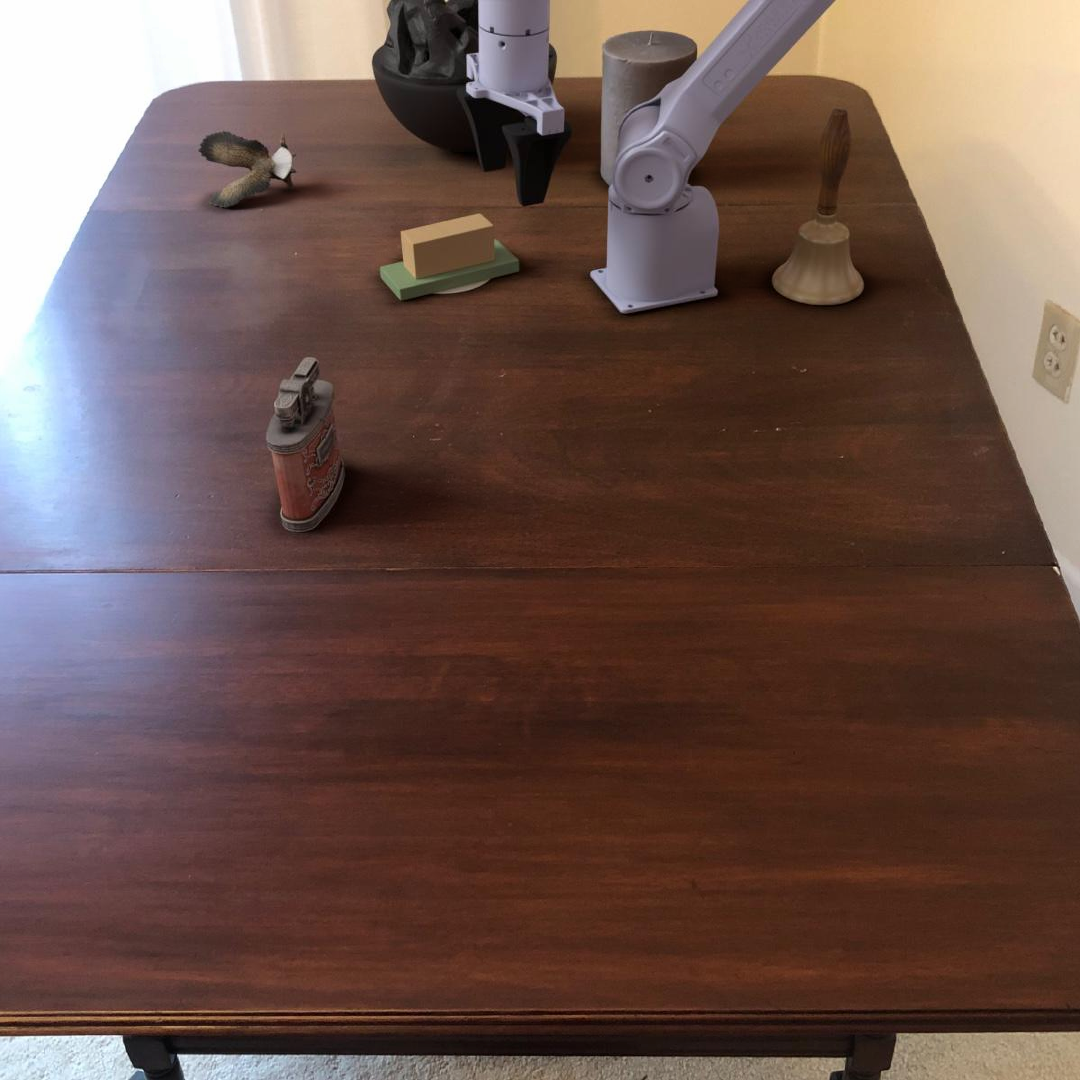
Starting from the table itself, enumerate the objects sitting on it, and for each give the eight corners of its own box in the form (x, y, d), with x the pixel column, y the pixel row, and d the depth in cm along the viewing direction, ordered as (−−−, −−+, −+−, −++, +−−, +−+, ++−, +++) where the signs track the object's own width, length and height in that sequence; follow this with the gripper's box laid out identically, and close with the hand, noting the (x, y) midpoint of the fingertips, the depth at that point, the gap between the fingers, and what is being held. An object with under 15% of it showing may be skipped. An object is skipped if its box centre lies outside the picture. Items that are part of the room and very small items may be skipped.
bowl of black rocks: (343, 155, 136) (322, -24, 124) (453, 100, 149) (443, -67, 137) (487, 197, 127) (479, 9, 115) (591, 135, 140) (593, -41, 128)
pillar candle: (705, 169, 132) (716, 25, 123) (662, 202, 126) (670, 53, 116) (626, 151, 136) (631, 11, 127) (582, 182, 130) (583, 37, 120)
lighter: (317, 534, 85) (298, 415, 79) (271, 528, 86) (248, 409, 79) (354, 467, 91) (338, 351, 85) (311, 462, 92) (292, 346, 85)
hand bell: (761, 296, 110) (782, 122, 100) (783, 257, 116) (804, 88, 106) (853, 313, 108) (884, 136, 98) (871, 271, 114) (901, 100, 104)
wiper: (519, 271, 115) (518, 224, 112) (400, 301, 111) (396, 253, 108) (496, 250, 118) (495, 204, 115) (380, 278, 114) (375, 231, 111)
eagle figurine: (276, 158, 133) (193, 159, 129) (290, 115, 127) (203, 114, 123) (294, 217, 131) (210, 220, 127) (308, 176, 125) (221, 178, 121)
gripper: (432, 5, 102) (437, 162, 110) (508, 60, 92) (507, 227, 101) (508, -5, 104) (507, 149, 113) (590, 48, 95) (582, 212, 103)
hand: (512, 185), depth 107 cm, fingers open, 7 cm apart
